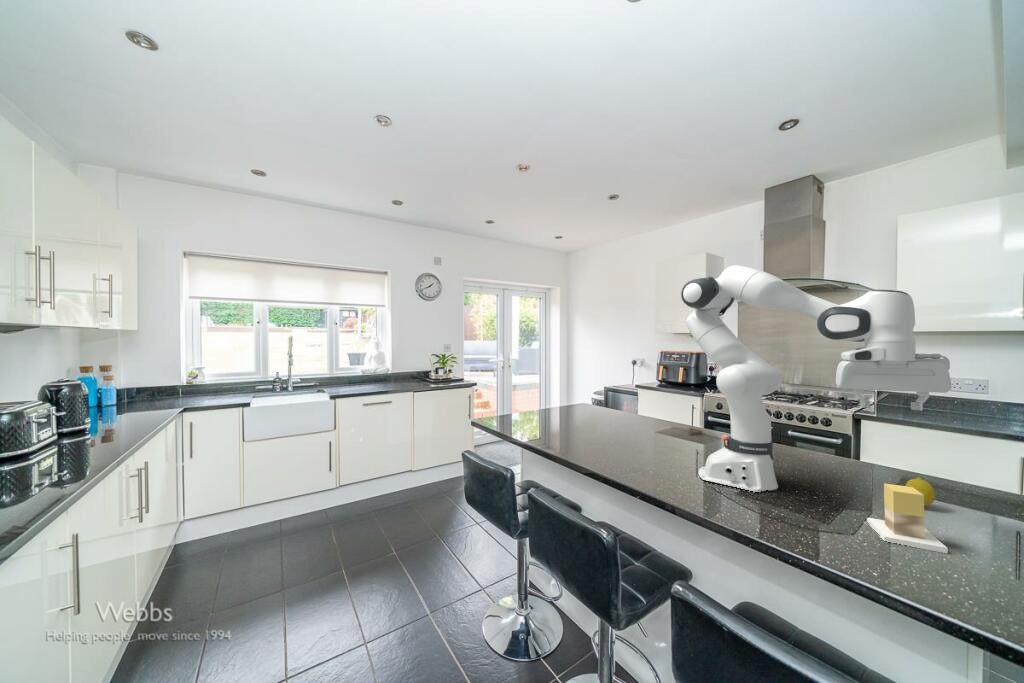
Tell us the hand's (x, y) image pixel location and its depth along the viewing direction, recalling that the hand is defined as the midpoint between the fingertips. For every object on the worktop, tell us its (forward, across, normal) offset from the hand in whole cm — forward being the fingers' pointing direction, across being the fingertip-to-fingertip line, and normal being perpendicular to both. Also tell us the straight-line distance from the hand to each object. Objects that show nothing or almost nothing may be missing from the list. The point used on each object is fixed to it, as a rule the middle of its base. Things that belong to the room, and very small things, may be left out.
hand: (890, 408), depth 90 cm
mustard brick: (+23, 0, +6) cm, 24 cm away
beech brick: (+28, 0, +6) cm, 29 cm away
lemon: (+29, -11, -16) cm, 35 cm away
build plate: (+29, 0, +6) cm, 30 cm away
